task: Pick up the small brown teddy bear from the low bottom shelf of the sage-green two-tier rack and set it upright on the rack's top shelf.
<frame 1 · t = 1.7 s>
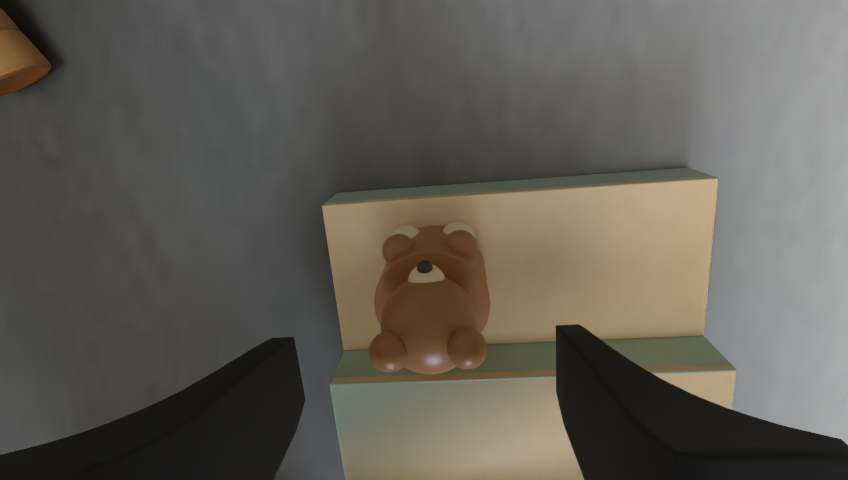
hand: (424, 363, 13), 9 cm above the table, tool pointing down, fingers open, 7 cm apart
teddy bear: (435, 272, 20), point 2 cm above the table, touching rack
rack: (511, 321, 23), on the table
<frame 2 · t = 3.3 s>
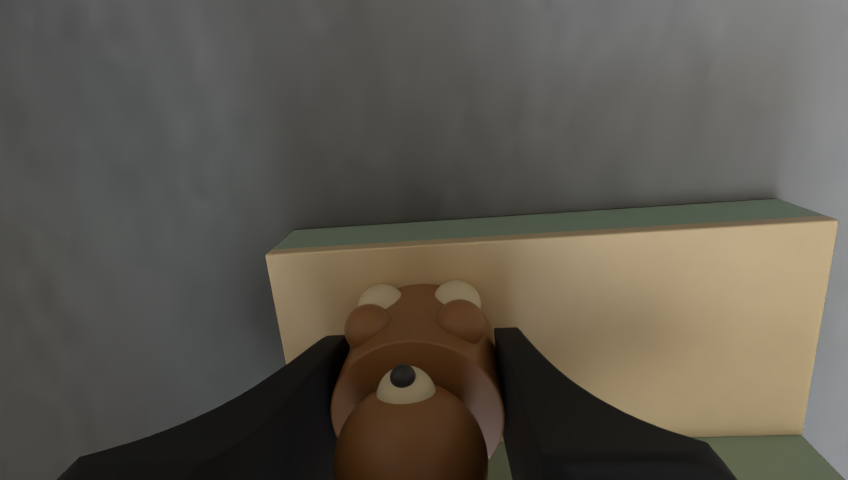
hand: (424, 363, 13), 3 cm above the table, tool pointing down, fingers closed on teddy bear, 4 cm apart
teddy bear: (425, 347, 14), point 3 cm above the table, touching gripper, rack
rack: (529, 398, 17), on the table
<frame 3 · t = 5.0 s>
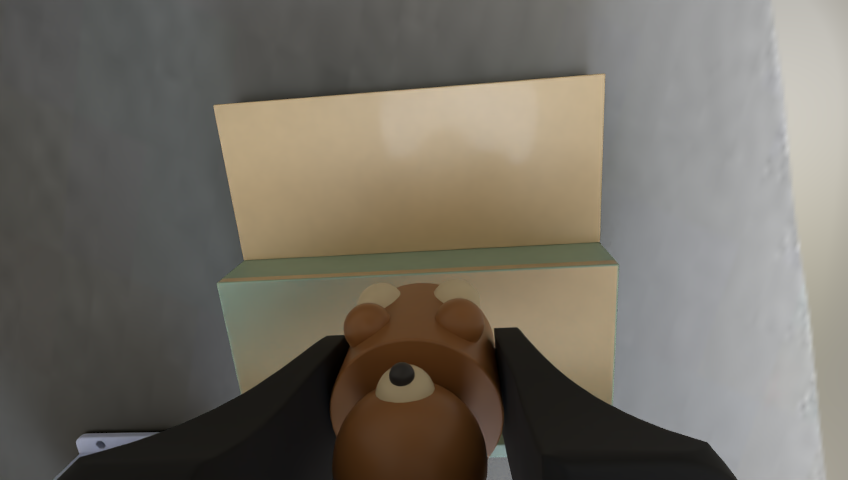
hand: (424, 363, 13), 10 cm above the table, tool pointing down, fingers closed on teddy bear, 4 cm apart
teddy bear: (424, 346, 14), point 9 cm above the table, touching gripper
rack: (420, 239, 23), on the table
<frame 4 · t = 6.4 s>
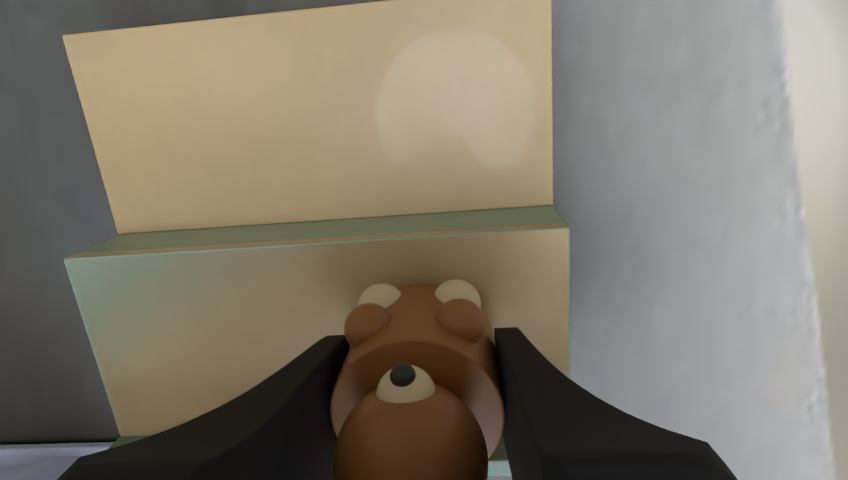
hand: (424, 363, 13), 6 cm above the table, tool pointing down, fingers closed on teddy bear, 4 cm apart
teddy bear: (425, 346, 14), point 6 cm above the table, touching gripper
rack: (344, 210, 19), on the table
when the fingers open (6 cm above the table, at t = 7.0 s): teddy bear stays where it is, resting on rack.
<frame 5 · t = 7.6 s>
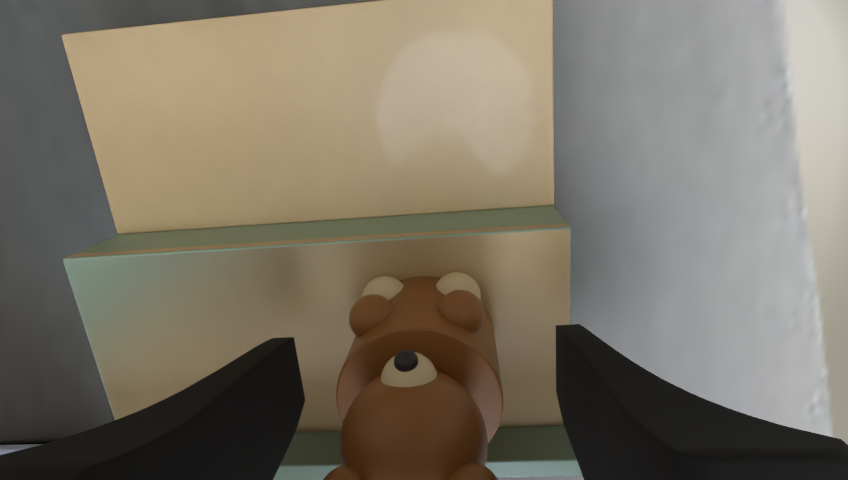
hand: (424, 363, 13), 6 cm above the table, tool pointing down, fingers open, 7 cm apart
teddy bear: (427, 337, 15), point 5 cm above the table, touching rack
rack: (344, 209, 19), on the table
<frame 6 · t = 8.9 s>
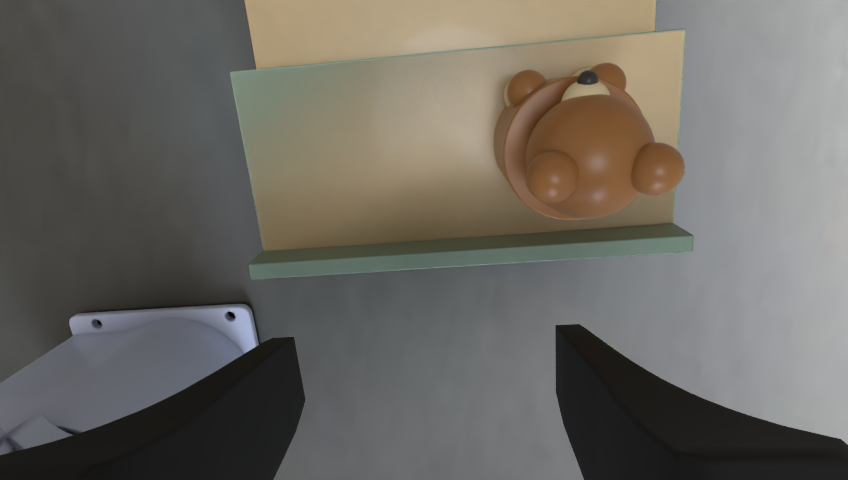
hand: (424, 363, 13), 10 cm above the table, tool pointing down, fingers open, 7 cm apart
teddy bear: (552, 140, 17), point 5 cm above the table, touching rack
rack: (450, 66, 21), on the table
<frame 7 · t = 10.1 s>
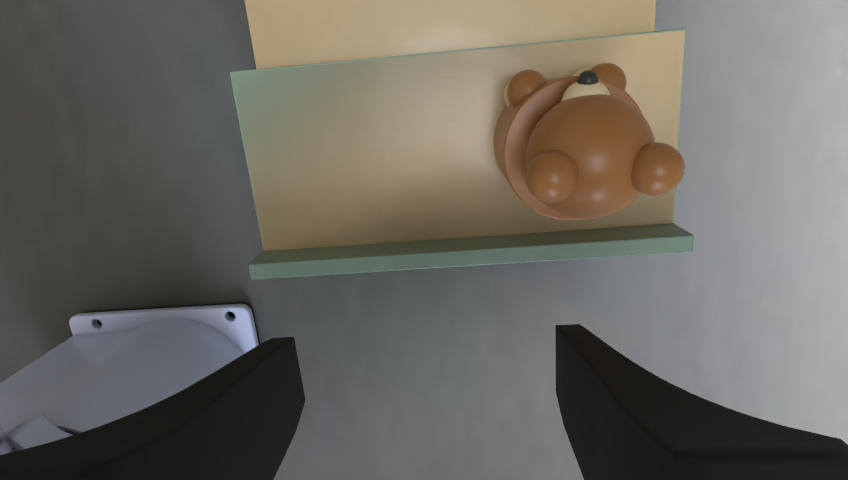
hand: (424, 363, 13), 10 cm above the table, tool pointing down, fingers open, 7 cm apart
teddy bear: (552, 140, 17), point 5 cm above the table, touching rack
rack: (450, 66, 21), on the table
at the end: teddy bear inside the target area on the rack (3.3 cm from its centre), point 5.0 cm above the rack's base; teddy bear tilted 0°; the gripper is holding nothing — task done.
